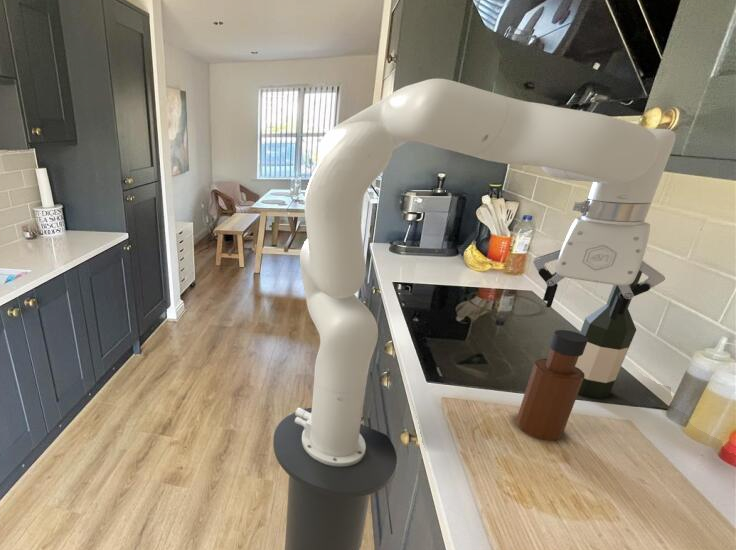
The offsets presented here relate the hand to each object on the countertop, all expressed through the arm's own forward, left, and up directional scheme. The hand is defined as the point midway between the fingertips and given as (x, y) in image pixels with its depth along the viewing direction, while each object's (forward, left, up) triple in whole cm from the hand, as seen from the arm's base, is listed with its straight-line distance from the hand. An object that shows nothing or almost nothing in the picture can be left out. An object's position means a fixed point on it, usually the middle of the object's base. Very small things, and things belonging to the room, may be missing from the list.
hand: (579, 310), depth 71 cm
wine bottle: (+7, +24, -26) cm, 36 cm away
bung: (0, 0, -11) cm, 11 cm away
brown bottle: (0, 0, -26) cm, 26 cm away
